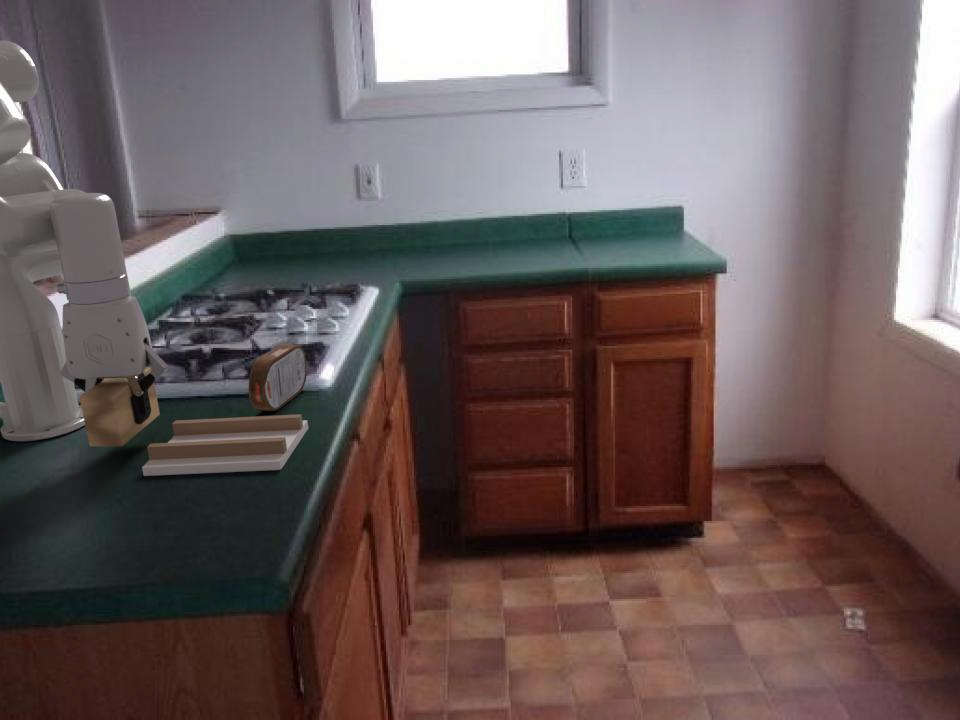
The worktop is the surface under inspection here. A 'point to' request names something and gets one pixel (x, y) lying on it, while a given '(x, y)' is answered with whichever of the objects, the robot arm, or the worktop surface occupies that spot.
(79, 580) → the worktop surface
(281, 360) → the tin
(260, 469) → the cradle
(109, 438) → the oak block
